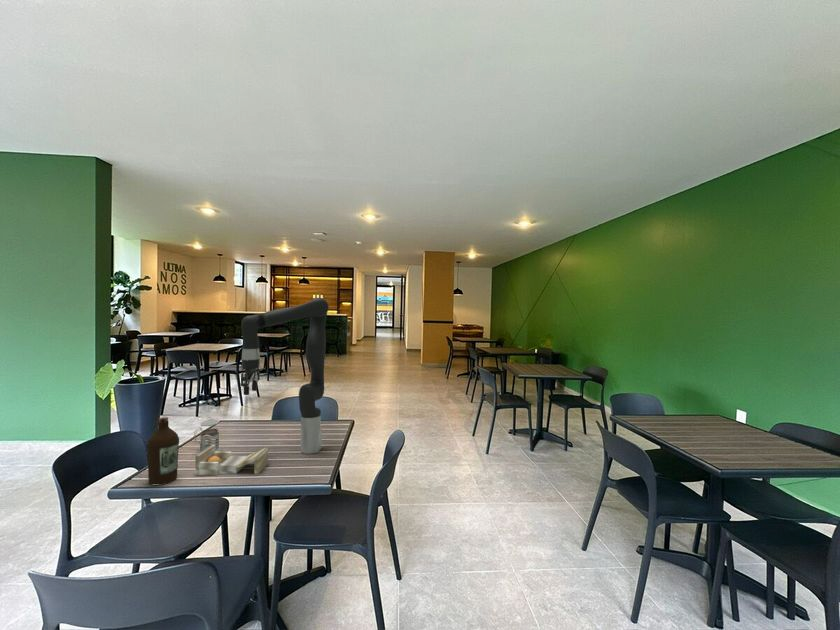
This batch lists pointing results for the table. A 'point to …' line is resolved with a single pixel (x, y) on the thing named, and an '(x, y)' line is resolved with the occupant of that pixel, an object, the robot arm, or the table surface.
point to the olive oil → (162, 454)
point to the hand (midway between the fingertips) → (250, 392)
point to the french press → (211, 432)
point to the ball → (214, 459)
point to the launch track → (228, 462)
